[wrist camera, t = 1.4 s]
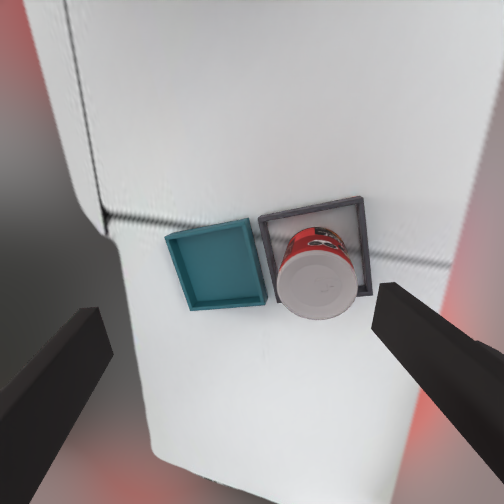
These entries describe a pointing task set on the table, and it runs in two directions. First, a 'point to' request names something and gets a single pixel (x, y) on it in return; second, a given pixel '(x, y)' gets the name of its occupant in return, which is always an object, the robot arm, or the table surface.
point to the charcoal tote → (357, 200)
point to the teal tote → (218, 266)
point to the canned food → (317, 275)
